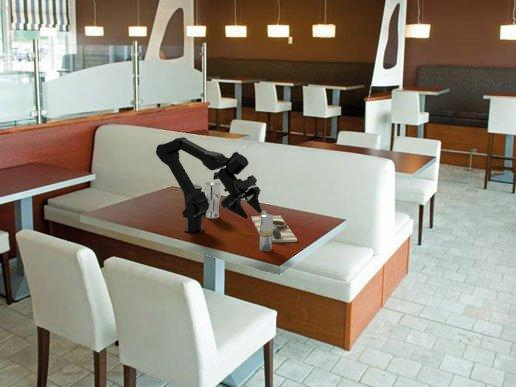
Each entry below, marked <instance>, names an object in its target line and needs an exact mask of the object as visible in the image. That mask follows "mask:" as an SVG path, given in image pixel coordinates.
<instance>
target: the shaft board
mask: <svg viewBox="0 0 516 387" xmlns="http://www.w3.org/2000/svg"><path fill="white" fill-rule="evenodd" d="M262 214H269V213H268V212H267V210H262V212H261V213H260V215H251V217H250V220H251V221H252V223H253V224H254V226H255V227H254V228H256V230H257V232H258V234H259V235H260V222H261V215H262ZM272 230H273V235H272V243H297V242H298V239H297V237H296V235H295V234H294V233H293V231H292V230H291V228H290V227H289V226H288V224H287V222H286V221H285V220H284V219H283V217H282V215H273V229H272Z"/></svg>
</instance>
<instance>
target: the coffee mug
mask: <svg viewBox="0 0 516 387" xmlns="http://www.w3.org/2000/svg"><path fill="white" fill-rule="evenodd" d="M193 185H194V187H195V189H196V190H197V191H198V192H203V191H202V189H203V185H201V184H194V183H193ZM183 198H184V199H183V200H184V206H185V207H184V208H185V209H186V208H187V206H186V196H185V194H184V193H183Z"/></svg>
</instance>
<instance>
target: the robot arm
mask: <svg viewBox="0 0 516 387" xmlns="http://www.w3.org/2000/svg"><path fill="white" fill-rule="evenodd" d="M179 151H183V152H185V153H187V154H188V155H190V156H192V157H193V158H196V159H197V160H199V161H201V163H202V165H203V166H204V167H206V168H207V169H208V170H210V171H216V172H213V178H212V179H213V180H214V181H215V180H219V181H220V183H221V185H223V187H224V189H223V190H224V192H225V193H226V192H227V193H228V195H227V196H226V197H224V198H223V200H221V201H220V204H221V205H220V206H221V207H222V208H223V210H227V211H228V210H229V211H231V212H232V213H234V214H236V215H238V216H240V217H241V218H243V219H246V220H248V218H249V216H248V214H247V212H246V210H245V209H244V207H243V205H242V204H241V202H242V200H245V201H246V203H247V204H248V205H249V206H250V207H251V208H253V210H255V211H256V212H257V213H258V214H261V212H262V211H263V210H262V207H261V205H260V201H259V195H260V193H261V192H262V190H261V189H260V187H259V186H257V180H258V179H257V178H256V177H255V176H254V175H253V174H252V175H250V176H249V175H248V176H247V177H246V178H247V179H244V180H242V178H238V177H237V175H240V174H241V173H242V171H243V170H245V168H246V167H248V165H249V161H248V159H247V158H246V157H245V156H244V155H243V154H241V153H239V152H238V151H235V152H233V153H232V154H231V156H230V157H226V155H225V154H223V153H220V152H217V151H212V150H208V149H206V148H204V147H202V146H200V145H198V144H196V143H194V142H193V141H191V140H189V139H188V138H186V137H184V136H181V137H177V138H176V137H175V139H173V140H171V141H168V142H166V143H160V144H158V145H157V146H156V149H155V153H156V156H157V158H158V159H159V160H160V162H162V163H163V164H165V165H166V166H167V167H168V168H169V170H170V172H171V173H172V175H173V176H174V178H175V181H176V182H177V184H178V186H179V187H180V189H181V191H182V193H183V195H184V194H185V196H186V206H187V208H185V209H184V210H183V211H182V212H181V213H182V216H183V218H185V219H187V224H186V225H187V228H185V229H184V231H183V232H184V233H190V234H199V235H200V233H202V232H203V231H204V230H205V227H203V224H202V222H203V219H202V217H203V216H205V215H206V212H207V210H208V208H209V202H208V199H207V197H206V196H205V191H201V192H198V191H197V190H196V189H195V187H194V185H193V184H194V183H193V182H192V180H191V178H190V176H189V174H188V173H187V171H186V170H185V168H184V166H183V165H182V163H181V161H180V152H179ZM217 170H219V171H217Z"/></svg>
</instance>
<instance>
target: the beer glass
mask: <svg viewBox="0 0 516 387" xmlns="http://www.w3.org/2000/svg"><path fill="white" fill-rule="evenodd" d="M221 187H222V186H221V182H218V181H207V182H205V184H204V193H205V196H206V197H207V199H208V202H209V208H208V210H207V212H206V215H204V216H205V218H206V219H209V220H210V219H211V220H216V219H219V218H220V212H219V208H220V207H219V206H220V203H221V193H222V190H221Z"/></svg>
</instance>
